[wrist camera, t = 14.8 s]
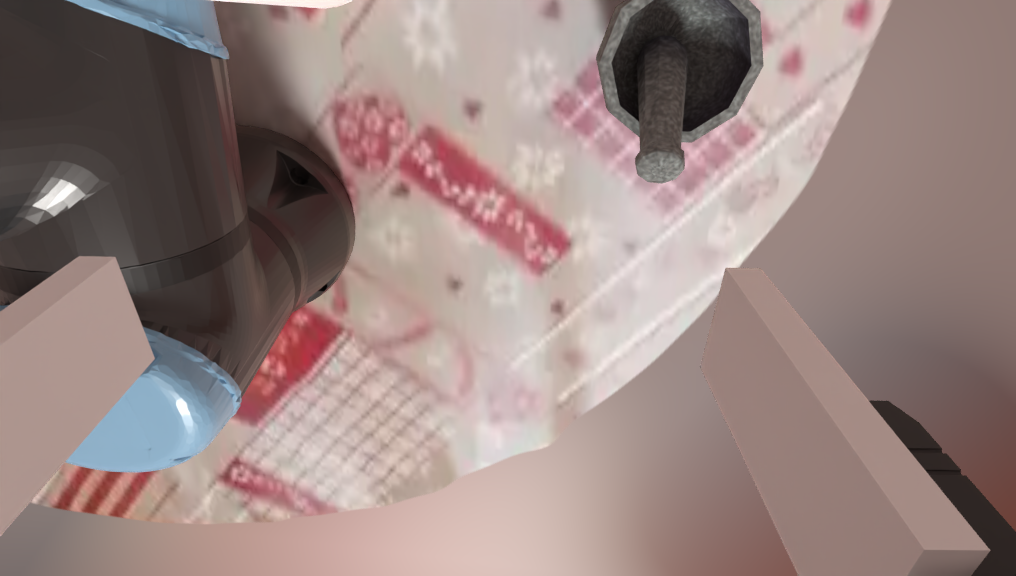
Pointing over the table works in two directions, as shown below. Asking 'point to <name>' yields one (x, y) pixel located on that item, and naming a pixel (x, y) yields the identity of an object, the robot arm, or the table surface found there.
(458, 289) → the table surface
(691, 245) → the table surface
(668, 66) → the mortar and pestle
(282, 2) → the champagne flute
